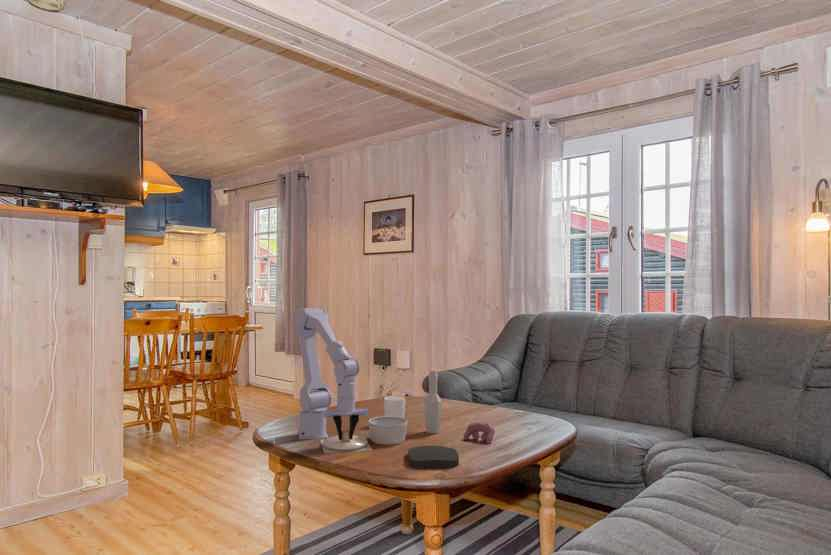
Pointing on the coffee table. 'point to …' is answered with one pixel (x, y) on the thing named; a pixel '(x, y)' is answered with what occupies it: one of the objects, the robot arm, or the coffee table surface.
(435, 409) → the low poly bottle
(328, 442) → the lid
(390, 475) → the coffee table surface
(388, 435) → the ramekin
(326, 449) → the mat
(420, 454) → the media streaming box
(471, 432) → the video game controller
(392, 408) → the white cup
